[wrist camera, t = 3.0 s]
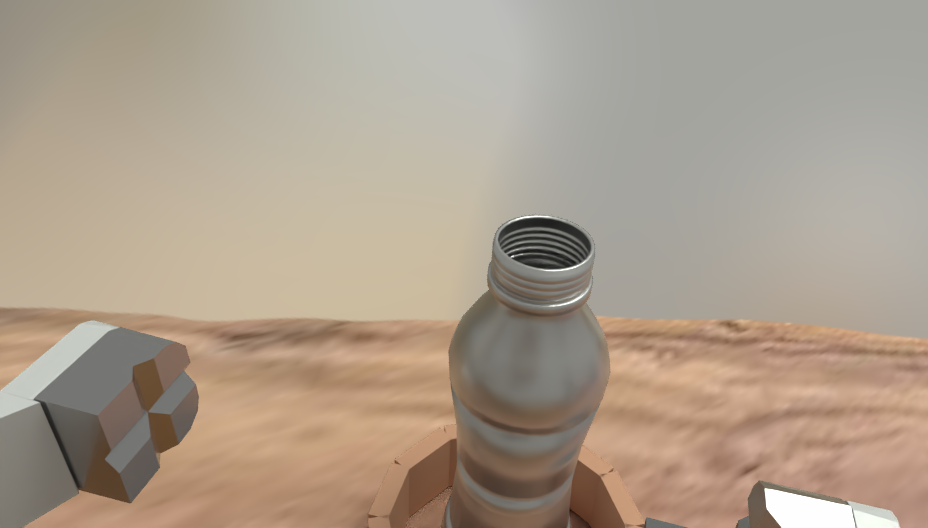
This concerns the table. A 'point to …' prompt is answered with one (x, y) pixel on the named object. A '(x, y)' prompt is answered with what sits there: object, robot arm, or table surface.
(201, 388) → the table surface
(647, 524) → the charcoal mat
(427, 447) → the terracotta segmented ring
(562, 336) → the silver metal bottle
